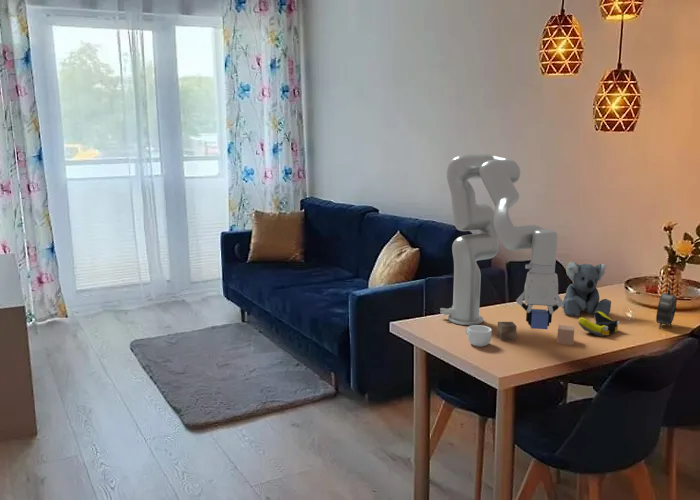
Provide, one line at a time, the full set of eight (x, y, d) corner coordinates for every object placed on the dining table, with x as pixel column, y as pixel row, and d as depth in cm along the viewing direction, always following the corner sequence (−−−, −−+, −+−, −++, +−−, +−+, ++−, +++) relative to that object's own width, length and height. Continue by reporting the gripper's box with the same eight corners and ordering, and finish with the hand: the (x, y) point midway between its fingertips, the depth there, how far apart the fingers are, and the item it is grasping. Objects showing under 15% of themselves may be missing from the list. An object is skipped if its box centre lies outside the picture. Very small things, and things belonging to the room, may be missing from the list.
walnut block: (500, 340, 219) (501, 326, 218) (497, 335, 223) (497, 321, 223) (515, 340, 219) (516, 326, 218) (511, 335, 224) (512, 321, 223)
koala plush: (564, 317, 246) (568, 266, 242) (553, 304, 263) (557, 256, 260) (612, 318, 244) (616, 267, 241) (598, 305, 262) (602, 257, 258)
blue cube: (531, 328, 208) (532, 313, 207) (529, 323, 213) (530, 308, 212) (547, 329, 207) (548, 314, 206) (545, 324, 212) (546, 309, 211)
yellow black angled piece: (574, 332, 228) (602, 339, 220) (575, 317, 227) (603, 324, 219) (596, 324, 238) (623, 330, 230) (597, 309, 236) (624, 315, 229)
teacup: (496, 345, 214) (496, 329, 213) (480, 350, 209) (480, 333, 208) (473, 337, 221) (473, 322, 220) (457, 341, 217) (457, 326, 216)
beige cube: (556, 343, 216) (558, 328, 215) (557, 339, 221) (558, 324, 220) (573, 345, 214) (574, 330, 213) (573, 340, 219) (574, 326, 218)
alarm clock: (660, 321, 241) (664, 278, 238) (676, 324, 238) (681, 280, 235) (654, 329, 232) (658, 284, 229) (670, 331, 229) (675, 286, 226)
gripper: (516, 270, 204) (512, 326, 207) (572, 272, 201) (568, 329, 205) (513, 264, 211) (509, 319, 215) (568, 267, 209) (563, 322, 212)
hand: (538, 323), depth 210 cm, fingers closed on blue cube, 4 cm apart
